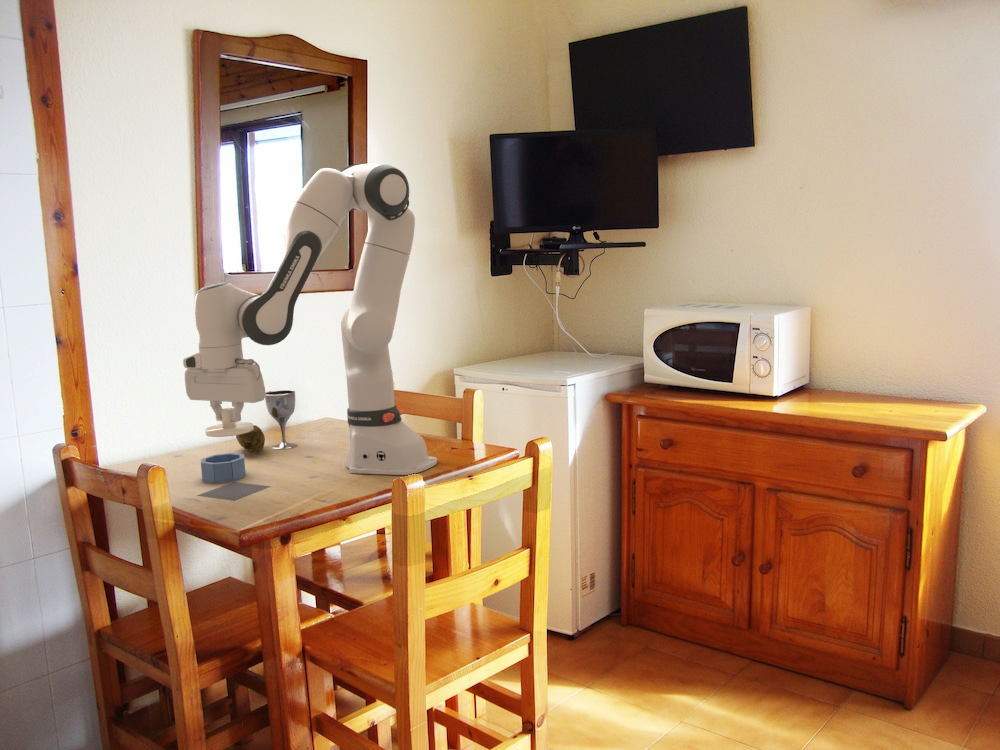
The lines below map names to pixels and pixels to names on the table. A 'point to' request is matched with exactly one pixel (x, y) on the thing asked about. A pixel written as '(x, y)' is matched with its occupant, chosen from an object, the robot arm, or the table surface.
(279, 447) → the silver goblet
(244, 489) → the mat
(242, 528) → the table surface
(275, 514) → the table surface
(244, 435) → the potato
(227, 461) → the bowl
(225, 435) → the lid
